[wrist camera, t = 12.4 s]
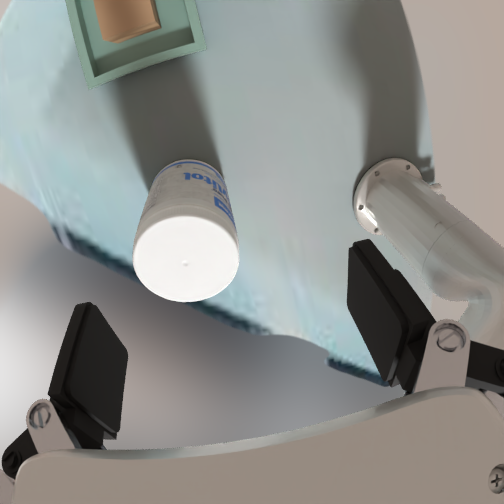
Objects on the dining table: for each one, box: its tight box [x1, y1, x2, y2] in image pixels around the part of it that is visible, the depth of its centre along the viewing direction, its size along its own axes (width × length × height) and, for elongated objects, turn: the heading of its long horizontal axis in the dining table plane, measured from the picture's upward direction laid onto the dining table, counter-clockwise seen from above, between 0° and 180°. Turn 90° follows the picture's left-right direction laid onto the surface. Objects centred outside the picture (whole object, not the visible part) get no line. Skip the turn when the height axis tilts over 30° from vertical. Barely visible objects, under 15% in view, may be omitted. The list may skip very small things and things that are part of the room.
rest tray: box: [65, 0, 207, 89], centre depth 23 cm, size 13×13×3 cm
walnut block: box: [93, 0, 162, 44], centre depth 21 cm, size 5×5×6 cm
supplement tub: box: [133, 159, 239, 302], centre depth 31 cm, size 10×10×15 cm
